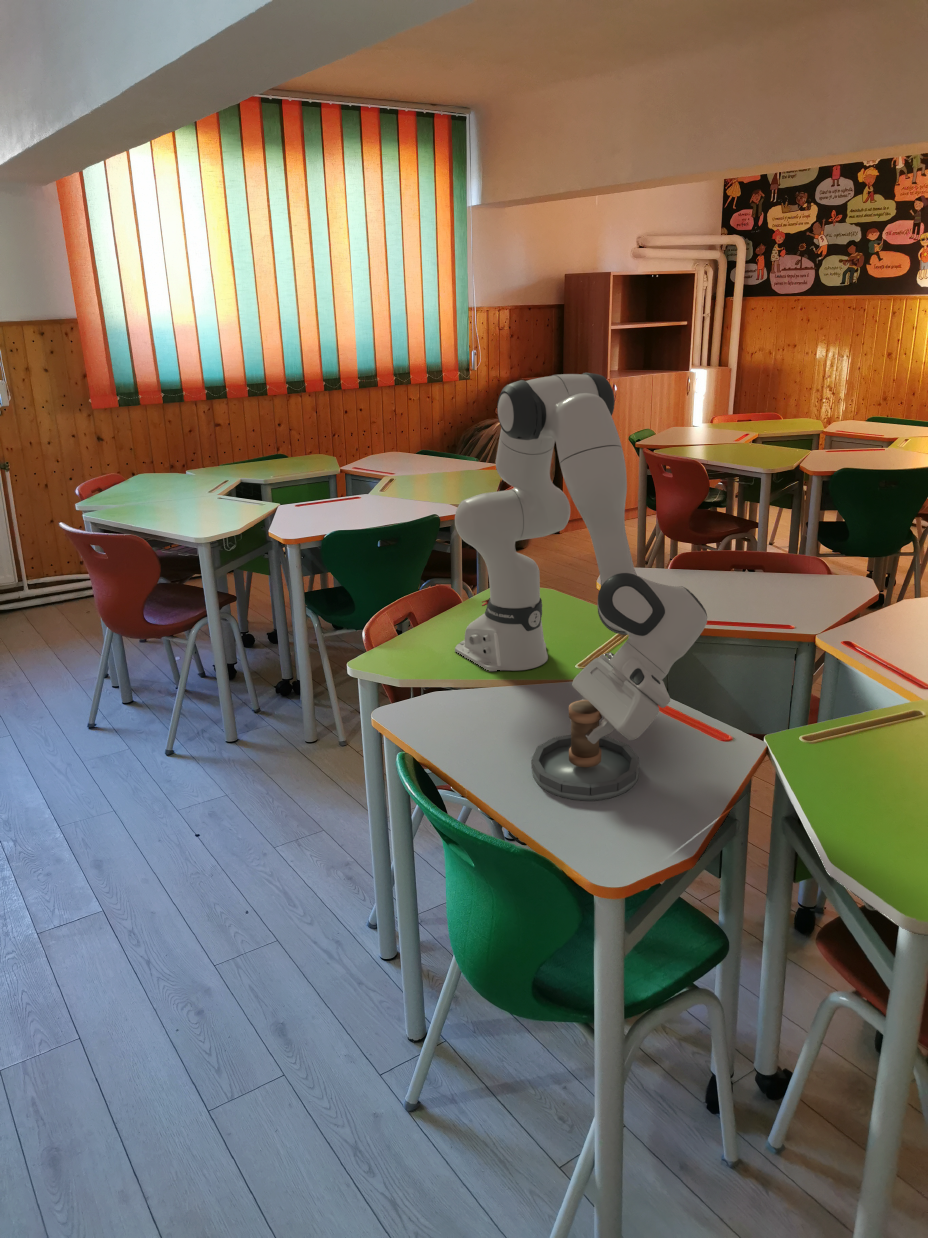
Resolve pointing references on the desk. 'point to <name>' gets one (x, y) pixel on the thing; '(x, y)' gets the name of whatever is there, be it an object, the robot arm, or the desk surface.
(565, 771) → the round dish
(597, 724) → the brown flared cylinder
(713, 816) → the desk surface
